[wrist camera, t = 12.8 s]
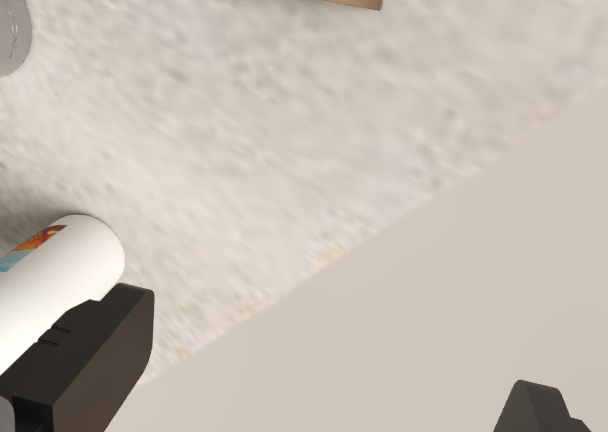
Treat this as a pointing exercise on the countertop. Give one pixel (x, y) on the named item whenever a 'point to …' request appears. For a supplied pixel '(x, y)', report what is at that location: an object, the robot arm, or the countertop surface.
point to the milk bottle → (54, 279)
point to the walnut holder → (361, 3)
